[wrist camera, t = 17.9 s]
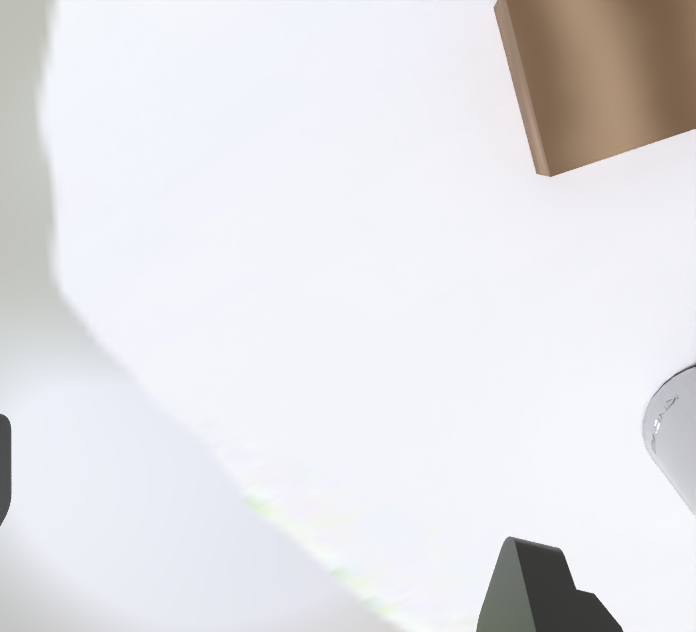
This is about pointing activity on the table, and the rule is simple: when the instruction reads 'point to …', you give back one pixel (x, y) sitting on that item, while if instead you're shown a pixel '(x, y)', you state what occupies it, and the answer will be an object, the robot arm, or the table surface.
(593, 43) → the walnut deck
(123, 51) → the table surface
